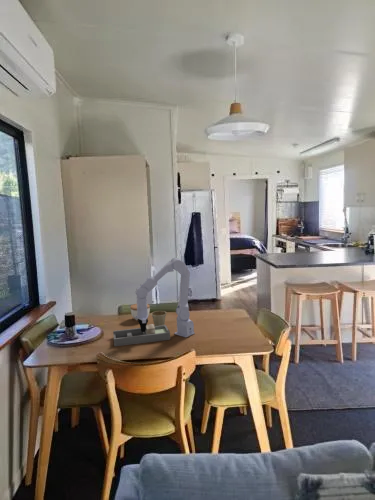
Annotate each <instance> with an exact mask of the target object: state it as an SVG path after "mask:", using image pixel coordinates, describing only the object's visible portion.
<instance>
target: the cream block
mask: <svg viewBox="0 0 375 500" xmlns="http://www.w3.org/2000/svg"><path fill="white" fill-rule="evenodd" d="M146 334H147V335H148V334H155V327H154V323H151V324H148V323H147V325H146Z"/></svg>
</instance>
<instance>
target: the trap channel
mask: <svg viewBox="0 0 375 500" xmlns="http://www.w3.org/2000/svg"><path fill="white" fill-rule="evenodd" d="M154 327H155V329H163V328H165V330H166V332H165V333H156V334H148V335H147V334H146V331H145V332H141V328H140V327H137V328H136V327H135V328H128V329H127V328H126V329H119V330H118V329H117V330H112V336H113V345H114V347H119V346H120V347H121V346H128V345H129V346H130V345H137V344H139V345H140V344H145V343H153V342H161V341H163V342H164V341H170V340H171V332H170V329H168V328H169V327H168V326H167V325H166V324H165V325H161V326H154Z"/></svg>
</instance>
